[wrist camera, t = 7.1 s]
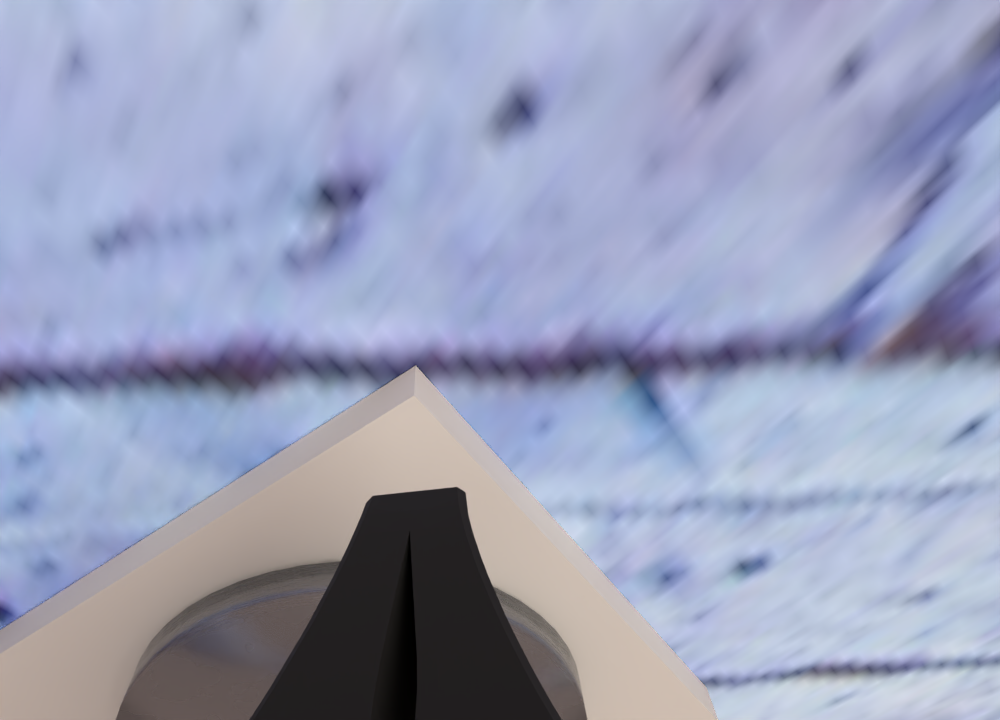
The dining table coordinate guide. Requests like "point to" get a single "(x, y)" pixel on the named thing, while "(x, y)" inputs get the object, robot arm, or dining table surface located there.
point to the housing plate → (324, 538)
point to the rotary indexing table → (287, 650)
